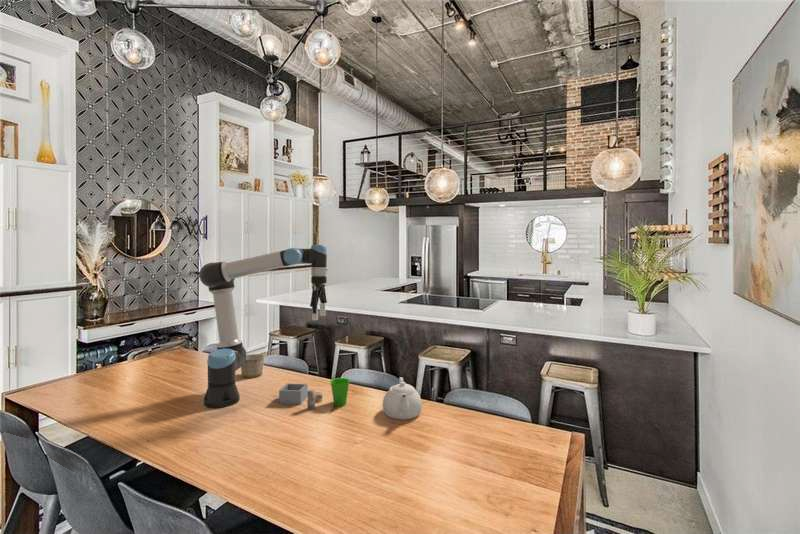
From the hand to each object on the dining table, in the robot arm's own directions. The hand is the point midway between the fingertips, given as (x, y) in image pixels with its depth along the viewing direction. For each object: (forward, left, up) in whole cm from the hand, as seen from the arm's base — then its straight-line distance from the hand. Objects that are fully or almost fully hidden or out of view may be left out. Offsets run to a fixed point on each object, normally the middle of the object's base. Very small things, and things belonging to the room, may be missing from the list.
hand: (318, 317), depth 199 cm
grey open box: (-7, -17, -37) cm, 41 cm away
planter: (-44, +20, -37) cm, 61 cm away
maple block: (+4, -16, -37) cm, 40 cm away
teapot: (+44, -24, -37) cm, 62 cm away
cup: (+15, -18, -37) cm, 44 cm away
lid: (+4, -26, -37) cm, 45 cm away
